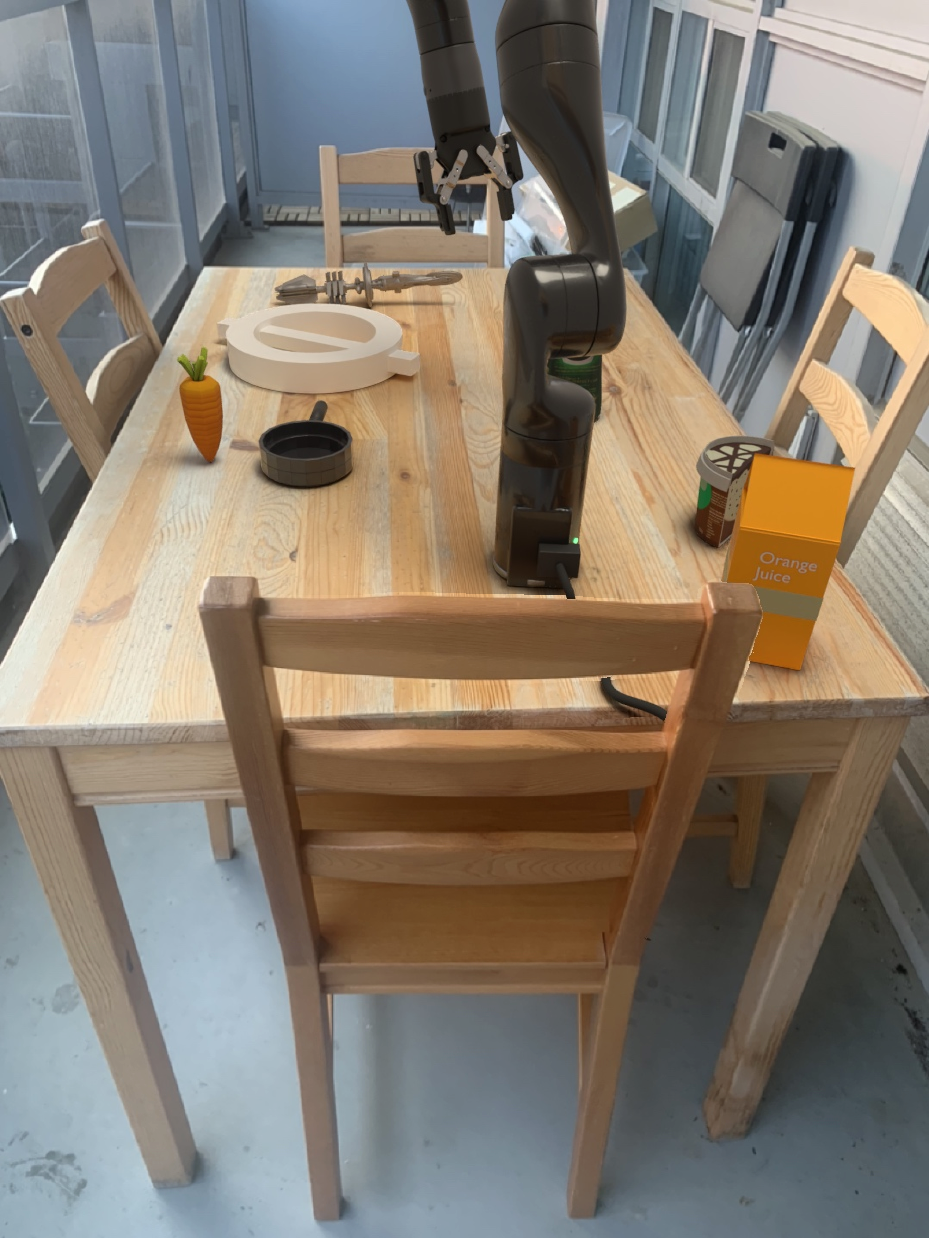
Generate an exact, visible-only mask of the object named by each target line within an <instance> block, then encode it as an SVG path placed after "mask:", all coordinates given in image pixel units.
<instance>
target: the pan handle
mask: <svg viewBox="0 0 929 1238" xmlns="http://www.w3.org/2000/svg"><path fill="white" fill-rule="evenodd" d="M328 408H329V405H328V403H327V402H326V401H325V400H322V399H321V400H317V401H316V402H315V404H314V406H313V409H312V411H311V413H310V416H309V417H308V420H317V421H325V420H324V419H325V417H326V415H327V412H328Z"/></svg>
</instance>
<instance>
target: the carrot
mask: <svg viewBox="0 0 929 1238" xmlns="http://www.w3.org/2000/svg"><path fill="white" fill-rule="evenodd" d="M208 350H209V349H208V348H207V347H206V346H201V348H200V355H198V356H197V359H196V361H193V362H190V360H189V358H188V356H187V355H185V354H184V353H182V354H181V355H180V356H178V357H177V358H176V361H177V363H178V364H180V365H181V367H182V368H183V369H184V370H185V372H186V373H187V374H188V376H187V377H185V379H184V380H183V381H181V383H180V384H179V386H178V387H179V389H178V390H179V396H180V402H181V407H182V410H183V415H184V420H185V423H186V425H187V429H188V431H189V434H190V436H191V439H192V441H193V443H194V446H196V448H197V450H198V451H199V453H200V454H201V456H203V458H204V460H206V461H207V462H209V463H212V462H213V461H214V460H215V459H216V456H217V453H218V451H219V449H220V445H221V442H222V437H223V422H224V413H223V399H222V390H221V389H222V388H221V385H220V383H219V381H218V380H216V379H215V378H213V377H212V376H211V375H207V374H205V371H206V369H207V366H208V364H209V362H208Z"/></svg>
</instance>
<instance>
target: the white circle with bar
mask: <svg viewBox="0 0 929 1238" xmlns="http://www.w3.org/2000/svg"><path fill="white" fill-rule="evenodd" d="M216 326H217V336H218V338H221V339H225V340H226V344H227V345H226V346H227V355H228V364H229V368H230V370H231V372H232V373H233V374H234V375H235V376H236V377H238V378H239V379H240V380H242V381H244V382H246V383H248V384H250V385H253V386H256V387H260V388H263V389H266V390H271V391H276V392H282V393H290V394H291V393H292V394H313V395H314V394H332V393H333V394H334V393H342V392H349V391H355V390H359V389H365V388H367V387H371V386H374V385H377V384H380V383H382V382H384V381H386V380H389V378H391V377H393V376H394V375H396V374H399V375H402V376H407V377H412V376H413V375H415V374H416V373H417V372H418V371H420V370H421V353H418V352H413V351H407V350H403V347H404V346H403V328H402V326H401V325H400V323H399V322H397V320H395V319H394V318H392V317H390V316H388V315H387V314H384V313H382V312H379V311H376V310H373V309H369V308H364V307H361V306H355V305H348V304H340V303H339V304H336V303H334V304H330V303H313V304H286V305H280V306H279V305H278V306H274V307H269V308H264V309H259V310H257V311H253V312H250V313H248V314H246V315H243V316H241V317H239V318H235V317H229V316H228V317H226V318H224V319H222V320H220V321H218V322H216Z"/></svg>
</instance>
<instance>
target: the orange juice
mask: <svg viewBox="0 0 929 1238" xmlns="http://www.w3.org/2000/svg"><path fill="white" fill-rule="evenodd" d="M855 472H856V467H853V466H847V465H840V464H832V463H825V462H819V461H811V460H805V459H799V458H798V459H797V458H791V457H785V456H777V455H773V456H771V455H764V454H757V453H755V455H754V458H753V461H752V464H751V467H750V470H749V473H748V476H747V479H746V482H745V485H744V488H743V489H742V494H741V498H740V502H739V506H738V511H737V515H736V519H735V523H734V527H733V532H732V536H731V538H730V539H729V543H728V547H727V551H726V554H725V555H726V556H725V560H724V565H723V570H722V574H721V578H720V582H721V581H722V582H727V583H749V584H752V585H753V586H754V588H755V589H756V591H757V594H758V596H759V599H760V605H761V607H762V610H763V619H762V622H761V624H760V629H759V632H758V635H757V637H756V639H755V643H754V647H753V650H752V653H751V655H750V656H749V660H747V661H748V662H754V663H757V664H758V663H759V664H764V665H769V666H774V667H781V668H785V669H791V670H796V671H801V668H802V665H803V662H804V659H805V656H806V653H807V650H808V647H809V644H810V640H811V637H812V634H813V631H814V628H815V625H816V622H817V620H818V617H819V614H820V610H821V607H822V604H823V602H824V598H825V597H824V596H825V594H826V590H827V588H828V584H829V581H830V578H831V575H832V572H833V568H834V566H835V563H836V559H837V556H838V553H839V550H840V547H841V544H842V536H843V531H844V527H845V522H846V516H847V512H848V506H849V500H850V496H851V492H852V485H853V481H854V476H855ZM753 652H754V653H753Z"/></svg>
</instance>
